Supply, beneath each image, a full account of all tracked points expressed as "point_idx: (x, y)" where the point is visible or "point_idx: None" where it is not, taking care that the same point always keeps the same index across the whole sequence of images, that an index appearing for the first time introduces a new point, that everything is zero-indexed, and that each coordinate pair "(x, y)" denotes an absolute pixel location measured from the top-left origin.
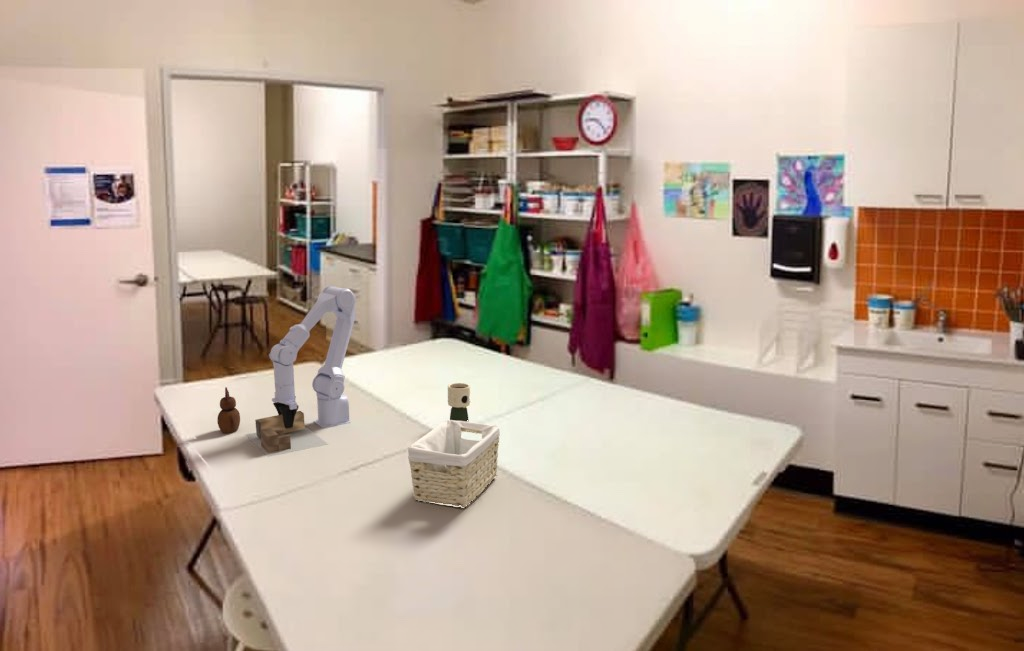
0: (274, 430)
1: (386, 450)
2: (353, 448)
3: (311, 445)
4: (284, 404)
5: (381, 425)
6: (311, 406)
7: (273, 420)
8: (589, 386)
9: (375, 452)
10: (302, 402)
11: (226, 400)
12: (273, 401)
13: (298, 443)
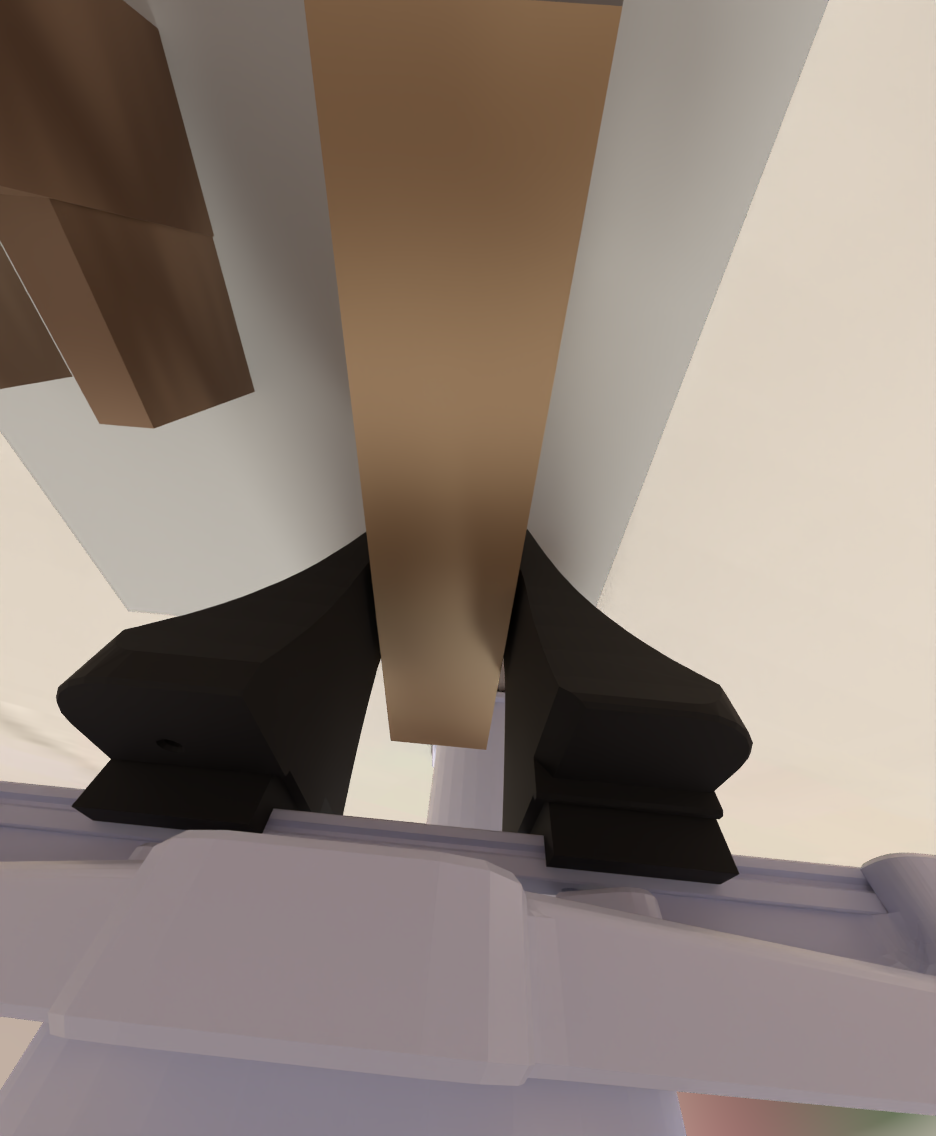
0: (83, 287)
1: (43, 716)
2: (75, 659)
3: (113, 534)
4: (518, 780)
5: (352, 793)
6: (811, 769)
7: (362, 420)
8: None
9: (14, 689)
10: (920, 771)
11: None
12: (150, 875)
13: (172, 481)
